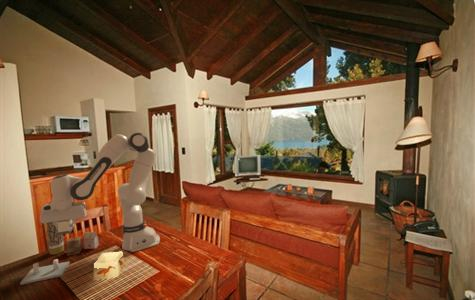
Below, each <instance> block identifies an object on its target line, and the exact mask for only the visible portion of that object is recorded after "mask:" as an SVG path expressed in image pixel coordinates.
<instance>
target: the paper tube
mask: <svg viewBox="0 0 475 300" xmlns="http://www.w3.org/2000/svg"><path fill="white" fill-rule="evenodd" d="M58 222H59V221H57V223H58ZM45 224H46V231H47V233H46V234H47V240H48V241H47V243H48V250H49V251H48V253H49V255H51V256H52V255H53V256H55V255H59V254H60V253H63V252H64V250H65V244H64V243H65V241H64V234H62V235H58V229H56V227H55V226H54V225H53V222H50V223H45Z"/></svg>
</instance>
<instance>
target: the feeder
mask: <svg viewBox="0 0 475 300" xmlns="http://www.w3.org/2000/svg"><path fill="white" fill-rule="evenodd" d="M82 249H83V248H82V238H81V236H76V237H71V238H68V239H67V240H66V251H67V253H66V256H72V255H77V254H81V251H82Z"/></svg>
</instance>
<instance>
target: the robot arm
mask: <svg viewBox="0 0 475 300" xmlns="http://www.w3.org/2000/svg"><path fill="white" fill-rule="evenodd" d="M149 147H150V145H149V140H148V137H147V135H146V134H144V133H143V132H135V133H132V134H131V135H130V137H129V136H125V135H124V134H120V133H118V134H117V133H116V134H115V135H114V136H112V137H110V139H108V141H106V142H105V144H104V145H103V146H102V147H101V149H100V150H99V152H98V153H97V158H96V162H95V164H94V166H93V167H92V169H91V170H89V172H88V174H87V175H86V176H85V177H79V176H73V175H71V174H69V173H63V174H59V175H57V176H54V177H53V178H52V179H51V182H50V191H51V195H52V197H51V201H50V202H47V203H45V204H44V205H42V207H41V208H40V210H41V211H40V214H39V223H41V224H46V223H50V222H53V225H54V226H55V227H56V229H58V225H57V221H65V220H72V223H71V224H70V227H73V228H74V227H75V223H76V221H77V220H79V219H84V218H85V217H86V216H87V215H88V213H87V203H85V202H83V201H85V200H88V199H90V197H92V195H93V194H94V191H95V187H96V184H97V183H98V182H99V181H100V180H101V178H102V177H103V176H104V174H105V173H106V172H107V171H108V169H110V167H112V165H114V164H115V163H116V162H117V161H118V160H119V159H120V158H121V156H122V155H123V154H124V153H125V152H126V151H127V150H131V151H134V152H136V154H137V155H136V158H135V160H134V163H133V165H132V167H131V170H130V172H129V182H128V183H127V182H126V183H122V184H120V185H119V187H118V188H117V195H118V198H119V203H120V207H121V213H122V223H123V224H122V234H123V239H122V245H121V248H122V250H125V251H129V252H131V253H134V252H138V251H141V250H146V249H148V248H150V247H154V246H157V245H159V243H160V242H161V238H160V235H159V234H158V233H156V231H155V229H154V228H152V227H150V226H148V224H147V222H146V220H143V219H144V218H143V209H142V207H141V205H142V204H143V203H144V202H145V201H146V198H147V183H148V181H149V180H148V179H149V176H150V174H151V171H152V168H153V166H154V163H155V160H156V152H155V151H154V149H152V148H149ZM74 200H76V201H75V202H74Z"/></svg>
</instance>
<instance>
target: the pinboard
mask: <svg viewBox="0 0 475 300" xmlns="http://www.w3.org/2000/svg"><path fill="white" fill-rule="evenodd" d="M70 262H71V261H65V262H59V259H58V258H56V259H53V260H52V264H49V265H44V266H39V262H35V263H33V264H32V267H33V268H31V269H30V270H29V272H27V274H26V275H25V277H23V278H22V280H21V281H20V282H19V284H20V286H21V285H26V284H31V283H36V282H41V281H45V280H49V279H55V278H59V277H62V276H63V275H64V274H65V272H66V270H67V268H68V266H69V265H70ZM64 271H65V272H64Z"/></svg>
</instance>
